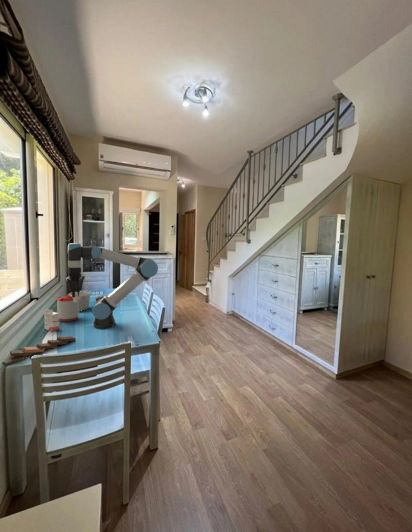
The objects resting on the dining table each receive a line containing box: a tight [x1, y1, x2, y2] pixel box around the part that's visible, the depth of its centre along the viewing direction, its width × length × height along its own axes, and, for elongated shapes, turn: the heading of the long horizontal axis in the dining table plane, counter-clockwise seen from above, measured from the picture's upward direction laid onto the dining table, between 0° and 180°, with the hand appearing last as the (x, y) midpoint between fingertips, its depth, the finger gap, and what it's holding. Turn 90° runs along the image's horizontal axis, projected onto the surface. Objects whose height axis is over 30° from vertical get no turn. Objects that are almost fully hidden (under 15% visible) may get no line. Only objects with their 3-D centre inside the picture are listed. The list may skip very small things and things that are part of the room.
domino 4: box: [35, 342, 58, 350], centre depth 141 cm, size 2×5×9 cm
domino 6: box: [56, 336, 77, 342], centre depth 151 cm, size 2×5×9 cm
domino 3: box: [22, 346, 46, 353], centre depth 136 cm, size 2×5×9 cm
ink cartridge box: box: [43, 308, 60, 332], centre depth 170 cm, size 9×5×15 cm, turn 69°
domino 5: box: [46, 339, 68, 345], centre depth 147 cm, size 2×5×9 cm
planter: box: [67, 290, 91, 312], centre depth 215 cm, size 17×17×15 cm
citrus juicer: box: [56, 294, 80, 322], centre depth 191 cm, size 16×17×20 cm
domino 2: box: [4, 356, 28, 366], centre depth 128 cm, size 2×5×9 cm
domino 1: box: [9, 349, 34, 357], centre depth 131 cm, size 2×5×9 cm
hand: (75, 301), depth 163 cm, fingers closed
